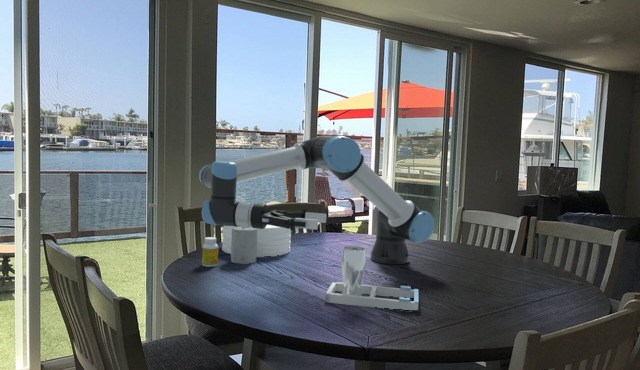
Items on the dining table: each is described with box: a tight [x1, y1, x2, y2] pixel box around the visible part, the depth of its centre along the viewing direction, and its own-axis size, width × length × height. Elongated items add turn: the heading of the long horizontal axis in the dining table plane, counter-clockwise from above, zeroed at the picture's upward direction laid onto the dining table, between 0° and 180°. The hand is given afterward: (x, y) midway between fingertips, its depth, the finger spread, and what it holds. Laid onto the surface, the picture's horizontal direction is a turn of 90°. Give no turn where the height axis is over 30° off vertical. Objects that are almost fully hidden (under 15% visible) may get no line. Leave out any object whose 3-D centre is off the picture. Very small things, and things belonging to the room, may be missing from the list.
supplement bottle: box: [201, 236, 219, 268], centre depth 180 cm, size 5×5×10 cm
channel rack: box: [324, 281, 419, 311], centre depth 149 cm, size 26×13×2 cm, turn 79°
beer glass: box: [341, 245, 367, 296], centre depth 150 cm, size 7×7×15 cm
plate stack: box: [221, 225, 292, 258], centre depth 210 cm, size 28×28×12 cm
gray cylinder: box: [230, 226, 257, 265], centre depth 189 cm, size 10×10×12 cm
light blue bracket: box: [398, 285, 420, 305], centre depth 147 cm, size 5×13×3 cm, turn 169°
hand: (322, 221), depth 150 cm, fingers open, 13 cm apart
